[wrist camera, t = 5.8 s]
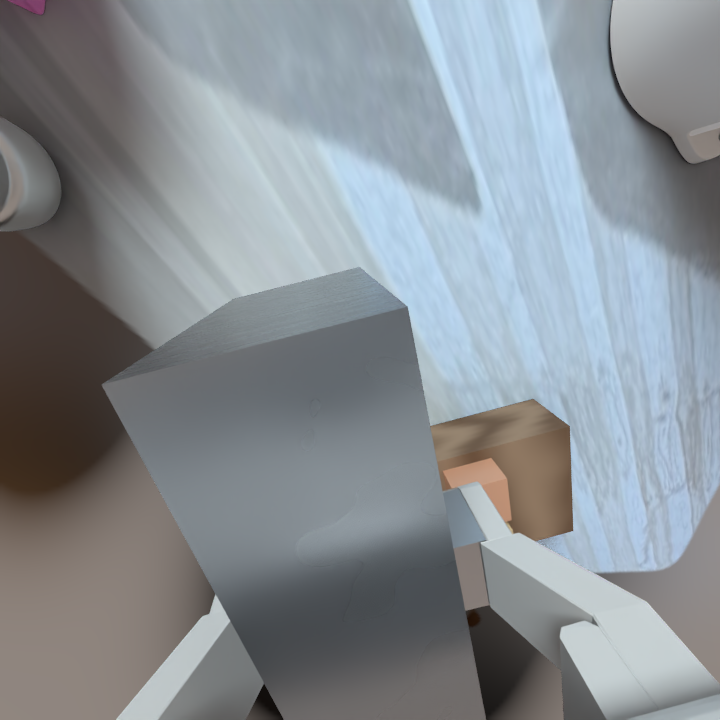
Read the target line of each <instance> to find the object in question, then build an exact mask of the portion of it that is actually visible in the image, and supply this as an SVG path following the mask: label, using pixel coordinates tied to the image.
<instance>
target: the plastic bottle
mask: <svg viewBox="0 0 720 720" xmlns="http://www.w3.org/2000/svg"><path fill="white" fill-rule="evenodd" d="M60 199H61V183H60V179H59V175H58V172H57V169H56V167H55V165H54V163H53V161H52V159H51V158H50V156H49V155H48V153H47V152H46V151H45V149H44V148H43V147H42V146H41V145H40V144H39V142H38V141H36V140H35V139H34V138H33V137H32V136H31V135H30V134H28V133H27V132H25V131H24V130H22V129H21V128H19V127H18V126H16V125H14V124H13V123H11V122H9V121H8V120H6V119H4V118H3V117H1V116H0V231H10V232H11V231H17V230H23V229H28V228H33V227H37V226H39V225H42V224H44V223H45V222H47V221H48V220H49V219H51V218H52V216H53V215H54V214H55V213H56V211H57V209H58V207H59V204H60Z"/></svg>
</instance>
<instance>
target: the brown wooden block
mask: <svg viewBox="0 0 720 720" xmlns="http://www.w3.org/2000/svg"><path fill="white" fill-rule="evenodd" d="M430 428H431V433H432V438H433V443H434V449H435V454H436V459H437V464H438V470H439V475H440V480H441V486H442V491H445V490H446V486H445V481H444V475H443V471H444V470H448V469H452V468H456V467H459V466H463V465H467V464H471V463H474V462H478V461H482V460H486V459H489V458H492V459H493V461H494V462H495V463H496V465H497V466H498V467H499V469H500V470H501V471H502V472H503V474H504V475H505V476H506V478H507V482H508V491H509V500H510V509H511V518H512V520H510V521H507V522H508V523H509V525H510V526H511V528H512V529H513V534H515V533H521V534H523V535H525V536H527V537H528V538H530V539H532V540H534V541H537V540H541V539H545V538H548V537H552V536H556V535H560V534H563V533H567V532H571V531H573V512H572V482H571V452H570V426H569V425H567V424H566V423H565V422H563V421H562V420H561V419H559V418H558V417H557V416H555V415H554V414H553V413H551V412H550V411H549V410H547V409H546V408H545V407H543V406H542V405H541V404H539V403H538V402H537V401H535V400H534V399H531V400H528V401H524V402H520V403H516V404H513V405H509V406H505V407H501V408H497V409H494V410H490V411H486V412H482V413H479V414H475V415H471V416H467V417H463V418H460V419H456V420H452V421H448V422H445V423H441V424H437V425H433V426H430Z"/></svg>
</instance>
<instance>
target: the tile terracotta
mask: <svg viewBox="0 0 720 720" xmlns="http://www.w3.org/2000/svg"><path fill="white" fill-rule="evenodd" d="M443 475H444V481H445V486H446V490H448V489H452V488H457V487H459V486H462V485H466V484H469V483H473V482H476V481H477V482H479V483H480V484H481V486H482V487H483V489H484V490H485V492H486V493H487V495H488V496H489V498H490V500H491V501H492V503H493V504H494V506H495V507H496V509H497V511H498V512H499V514H500V515H501V517H502V518H503V520H504V521H505V522H507V521H510V520H512V518H511V509H510V500H509V491H508V482H507V478H506V476H505V475H504V474H503V472H502V471H501V470H500V469H499V467H498V466H497V465H496V463H495V462H494V461H493V459H492V458H489V459H486V460H482V461H478V462H474V463H471V464H467V465H463V466H459V467H456V468H452V469H448V470H444V471H443Z"/></svg>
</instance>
